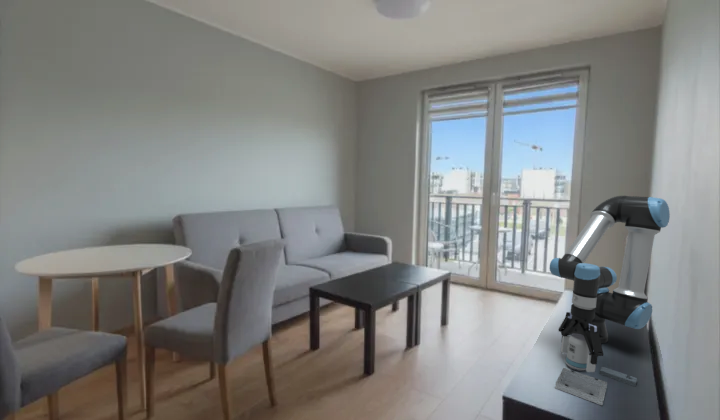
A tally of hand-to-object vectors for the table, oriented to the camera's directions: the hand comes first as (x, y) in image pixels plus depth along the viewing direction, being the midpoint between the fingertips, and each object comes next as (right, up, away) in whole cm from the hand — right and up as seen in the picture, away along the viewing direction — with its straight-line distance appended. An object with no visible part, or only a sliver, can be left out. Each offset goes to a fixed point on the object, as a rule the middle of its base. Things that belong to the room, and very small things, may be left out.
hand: (576, 361), depth 131 cm
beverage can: (0, -3, 0) cm, 3 cm away
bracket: (+11, -4, -5) cm, 13 cm away
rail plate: (-7, -3, -13) cm, 15 cm away
